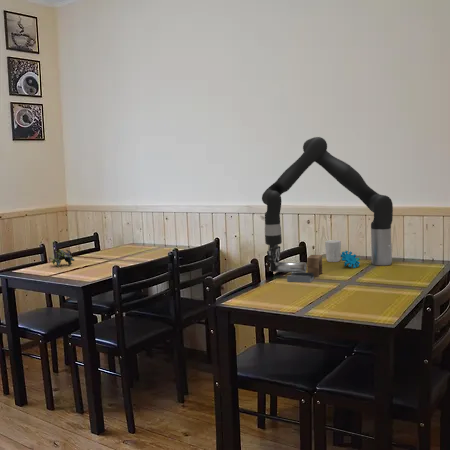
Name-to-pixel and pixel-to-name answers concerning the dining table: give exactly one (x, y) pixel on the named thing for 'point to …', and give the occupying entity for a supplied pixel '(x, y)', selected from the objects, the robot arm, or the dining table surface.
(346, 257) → the gear
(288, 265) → the axle
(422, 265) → the dining table surface
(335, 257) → the white cup
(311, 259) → the brown block
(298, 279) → the v block
